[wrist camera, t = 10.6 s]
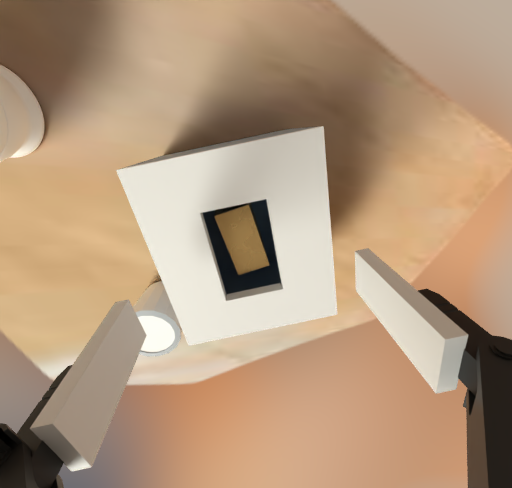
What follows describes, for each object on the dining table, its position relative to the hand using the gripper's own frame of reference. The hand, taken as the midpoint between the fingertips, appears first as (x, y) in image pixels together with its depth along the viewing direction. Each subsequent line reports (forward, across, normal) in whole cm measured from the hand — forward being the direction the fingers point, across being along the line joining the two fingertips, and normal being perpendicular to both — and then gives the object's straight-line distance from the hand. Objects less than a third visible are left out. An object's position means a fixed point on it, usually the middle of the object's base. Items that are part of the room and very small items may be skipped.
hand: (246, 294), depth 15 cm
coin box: (+18, 0, 0) cm, 18 cm away
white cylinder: (+18, -13, -10) cm, 24 cm away
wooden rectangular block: (+17, 0, 0) cm, 17 cm away
